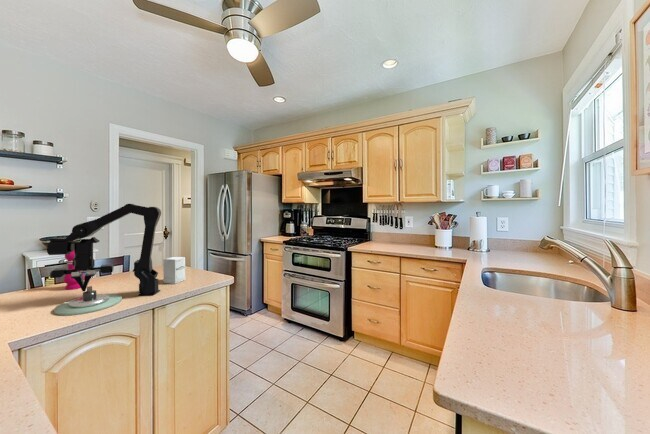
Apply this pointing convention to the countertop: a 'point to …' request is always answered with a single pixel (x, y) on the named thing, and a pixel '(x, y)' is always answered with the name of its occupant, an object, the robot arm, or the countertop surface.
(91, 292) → the dial
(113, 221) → the robot arm
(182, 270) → the supplement box
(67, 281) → the pepper mill
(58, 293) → the countertop surface
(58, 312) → the dial plate
